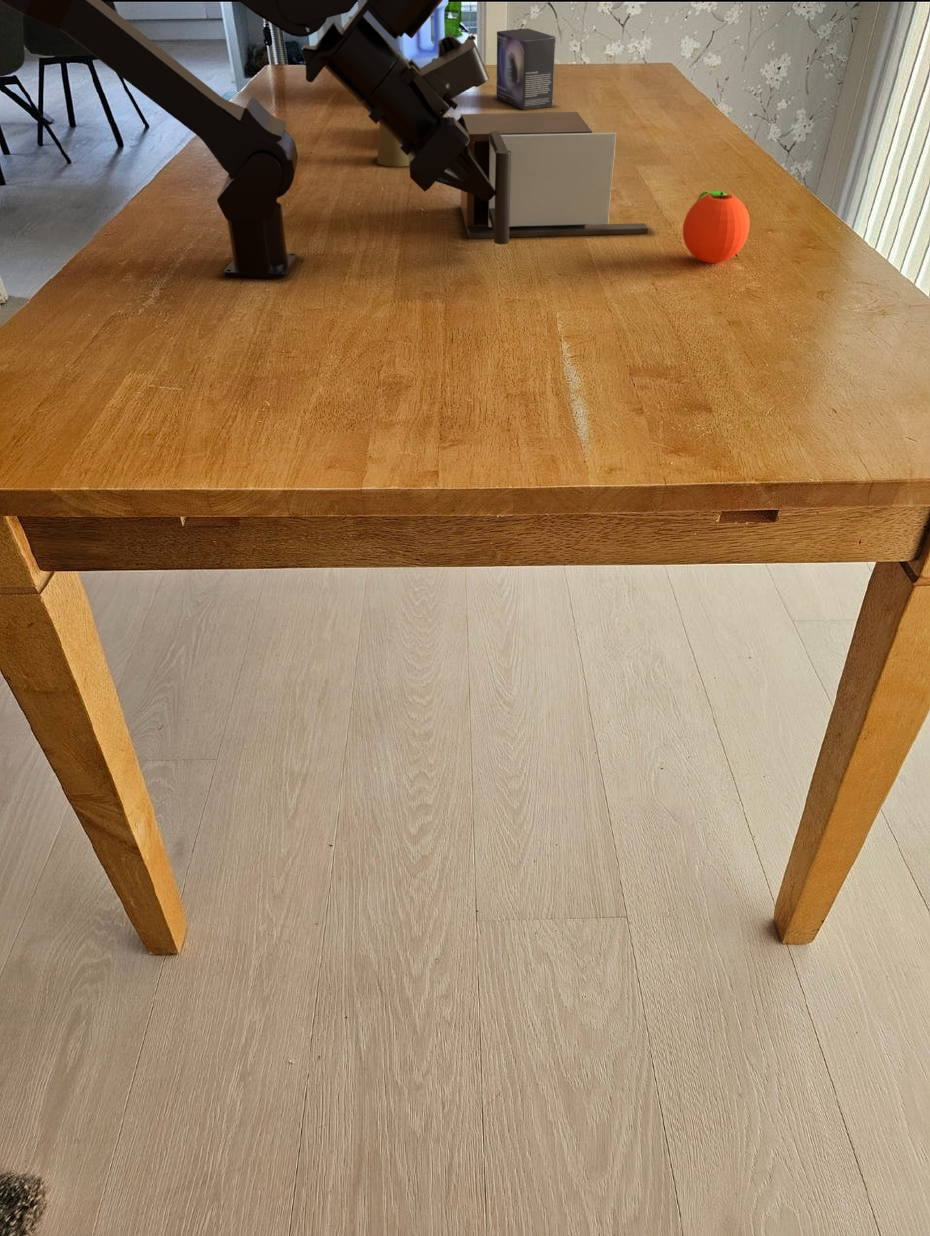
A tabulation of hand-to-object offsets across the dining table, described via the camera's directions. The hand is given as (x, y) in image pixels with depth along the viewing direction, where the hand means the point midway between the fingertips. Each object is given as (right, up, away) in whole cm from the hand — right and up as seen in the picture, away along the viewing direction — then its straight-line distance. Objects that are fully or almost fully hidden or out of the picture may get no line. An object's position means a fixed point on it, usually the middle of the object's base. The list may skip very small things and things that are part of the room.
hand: (492, 196), depth 98 cm
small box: (+7, +46, +67) cm, 82 cm away
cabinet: (+8, +4, +15) cm, 18 cm away
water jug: (-13, +49, +70) cm, 87 cm away
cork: (-12, +21, +37) cm, 44 cm away
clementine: (+24, -5, +5) cm, 25 cm away
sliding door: (+7, -1, +8) cm, 10 cm away
